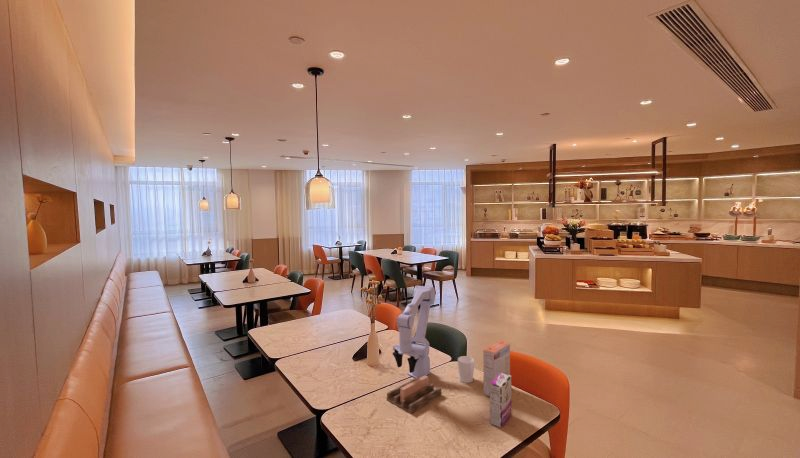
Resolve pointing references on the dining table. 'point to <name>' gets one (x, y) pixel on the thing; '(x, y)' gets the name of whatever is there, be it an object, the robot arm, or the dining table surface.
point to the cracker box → (495, 363)
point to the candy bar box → (500, 400)
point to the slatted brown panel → (414, 397)
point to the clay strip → (413, 387)
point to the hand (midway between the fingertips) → (405, 369)
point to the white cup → (465, 369)
